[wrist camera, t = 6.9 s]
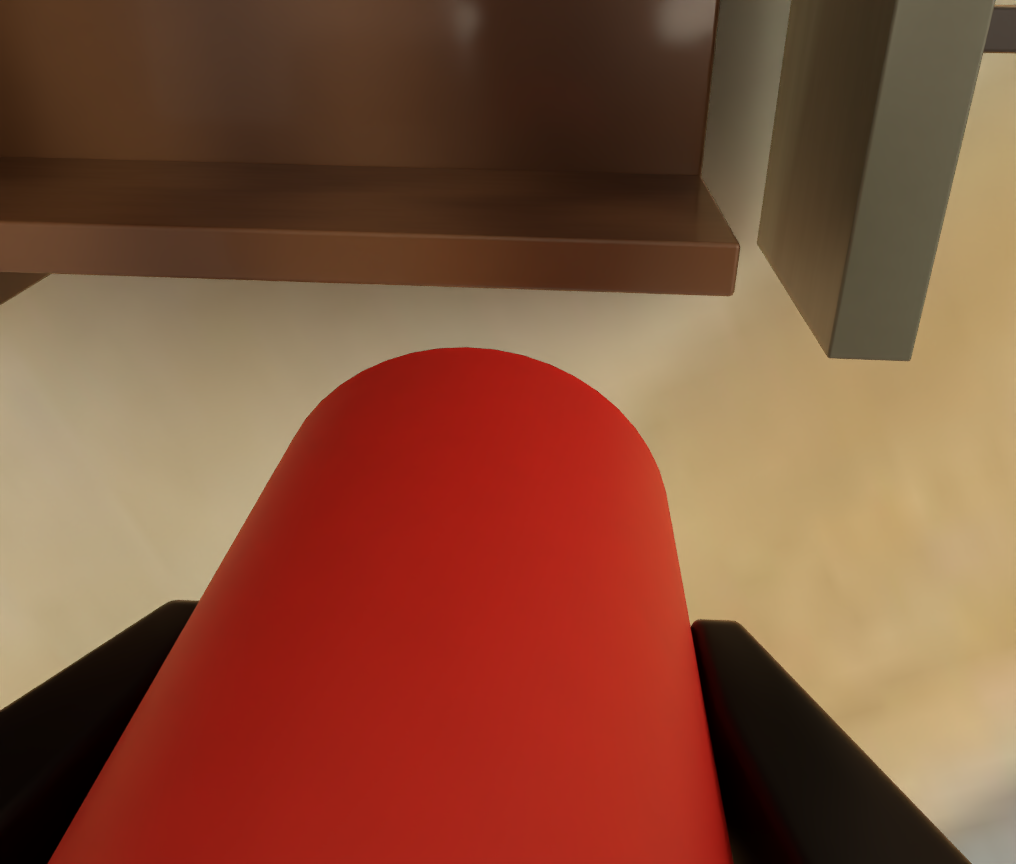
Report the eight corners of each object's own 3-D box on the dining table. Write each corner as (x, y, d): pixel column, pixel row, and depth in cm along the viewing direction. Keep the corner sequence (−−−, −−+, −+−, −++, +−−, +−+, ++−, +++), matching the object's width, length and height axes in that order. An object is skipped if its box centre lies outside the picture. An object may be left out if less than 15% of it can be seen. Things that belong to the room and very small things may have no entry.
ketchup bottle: (684, 348, 9) (1073, 1630, 2) (653, 681, 11) (797, 1915, 4) (256, 339, 9) (-678, 1467, 2) (299, 667, 11) (-137, 1814, 4)
